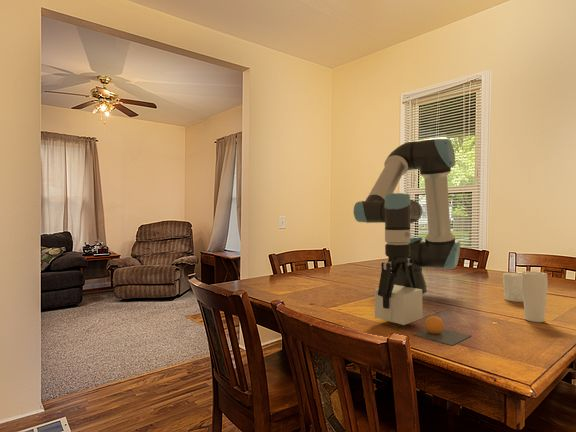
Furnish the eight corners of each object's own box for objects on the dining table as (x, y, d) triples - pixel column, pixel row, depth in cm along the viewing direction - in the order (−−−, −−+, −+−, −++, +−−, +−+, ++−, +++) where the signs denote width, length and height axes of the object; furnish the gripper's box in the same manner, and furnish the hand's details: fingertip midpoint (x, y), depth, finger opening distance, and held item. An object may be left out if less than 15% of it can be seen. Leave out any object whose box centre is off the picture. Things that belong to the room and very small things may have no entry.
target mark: (413, 335, 104) (413, 334, 104) (433, 327, 111) (433, 326, 111) (452, 345, 95) (452, 345, 95) (471, 336, 102) (471, 335, 102)
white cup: (530, 302, 138) (530, 276, 138) (507, 302, 140) (507, 275, 140) (521, 297, 146) (521, 272, 146) (499, 297, 148) (499, 272, 147)
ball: (441, 328, 100) (430, 339, 103) (450, 325, 103) (440, 336, 106) (427, 313, 103) (418, 325, 106) (437, 311, 106) (427, 322, 109)
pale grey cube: (374, 317, 115) (374, 289, 114) (393, 311, 121) (393, 284, 121) (403, 325, 107) (403, 294, 107) (422, 317, 113) (422, 289, 113)
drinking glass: (516, 317, 119) (516, 271, 119) (536, 317, 120) (536, 270, 120) (532, 324, 112) (532, 275, 112) (553, 323, 113) (553, 274, 113)
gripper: (385, 247, 103) (386, 325, 104) (428, 241, 118) (429, 310, 118) (364, 245, 109) (365, 320, 109) (407, 240, 124) (408, 306, 124)
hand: (398, 315), depth 114 cm, fingers closed on pale grey cube, 10 cm apart
